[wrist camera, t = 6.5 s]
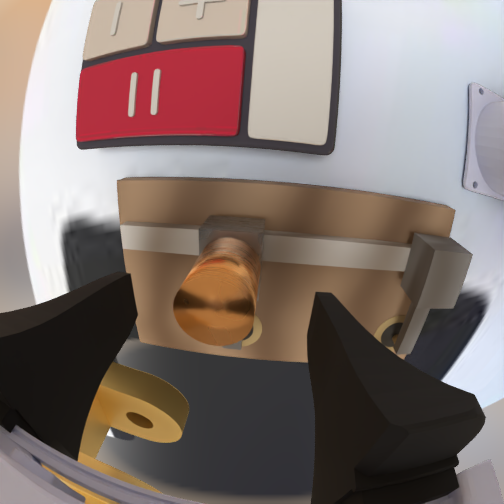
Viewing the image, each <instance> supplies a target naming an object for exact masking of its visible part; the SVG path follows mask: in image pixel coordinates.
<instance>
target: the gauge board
mask: <svg viewBox="0 0 504 504" xmlns="http://www.w3.org/2000/svg"><path fill="white" fill-rule="evenodd" d="M117 192H118V206H119V217H120V228H121V237H122V245H123V253H124V260H125V267H126V273H131V278H132V285H133V290H134V296H135V301H136V307H137V312H138V317H137V319H136V325H137V330H138V334H139V338H140V342H143V343H148V344H153V345H158V346H164V347H169V348H175V349H181V350H187V351H194V352H200V353H207V354H215V355H223V356H231V357H240V358H251V359H262V360H276V361H291V362H308V358H307V332H308V327H309V322H310V317H311V312H312V307H313V302H314V297H315V292H329V293H332V294H333V295H334V296H335V297H336V298H337V299H338V300H339V301H340V302H341V303H342V304H343V306H344V307H345V308H346V309H347V310H348V311H349V312H350V313H351V314H352V315H353V316H354V318H355V319H356V320H357V321H358V322H359V323H360V324H361V325H362V326H363V327H364V328H365V329H366V330H367V331H368V332H370V333H371V334H372V335H373V336H374V337H375V338H376V339H377V340H378V341H379V342H381V343H382V344H383V345H384V346H386V347H387V348H388V349H389V350H391V351H392V352H393V353H395V354H396V355H397V356H399V357H400V358H402V359H403V360H404V358H405V356H406V354H410V353H411V351H412V349H413V347H414V345H415V343H416V340H417V338H418V336H419V334H420V332H421V329H422V327H423V325H424V322H425V320H426V317H427V315H428V313H429V310H430V309H441V308H454V306H455V303H456V301H457V298H458V296H459V293H460V291H461V288H462V285H463V282H464V280H465V277H466V274H467V271H468V268H469V265H470V262H471V258H472V255H473V254H472V253H470V252H469V251H468V250H466V249H465V248H464V247H462V246H461V245H460V244H458V243H457V242H456V241H454V240H453V239H452V238H449V236H450V232H451V228H452V223H453V219H454V214H455V210H454V209H452V208H450V207H448V206H446V205H442V204H437V203H432V202H426V201H421V200H416V199H410V198H404V197H398V196H392V195H386V194H380V193H373V192H366V191H359V190H351V189H344V188H335V187H327V186H318V185H308V184H298V183H286V182H274V181H260V180H244V179H224V178H194V177H130V178H123V179H120V180H117ZM210 215H216V216H232V217H246V218H260V219H265V230H264V245H263V259H262V272H261V283H260V291H259V300H258V301H256V309H255V316H254V323H253V327H252V329H251V331H250V332H249V334H248V335H247V336H246V337H245V338H244V339H242V347H241V350H235V349H227V348H223V346H213V345H208V344H204V343H202V342H199V341H197V340H195V339H193V338H192V337H190V336H189V335H188V334H186V333H185V332H184V331H183V330H182V328H181V327H180V326H179V324H178V323H177V321H176V319H175V316H174V312H173V302H174V298H175V296H176V294H177V292H178V290H179V289H180V287H181V285H182V284H183V282H184V280H185V279H186V277H187V275H188V274H189V272H190V271H191V269H192V267H193V266H194V264H195V262H196V261H197V259H198V258H199V228H200V227H201V226H202V224H203V223H204V222H205V221H206V219H207V218H208V217H209V216H210Z"/></svg>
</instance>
